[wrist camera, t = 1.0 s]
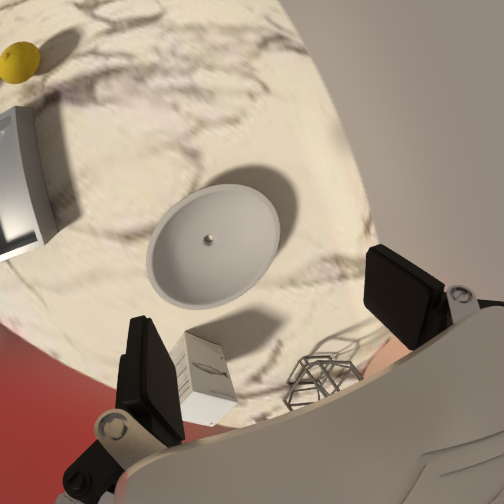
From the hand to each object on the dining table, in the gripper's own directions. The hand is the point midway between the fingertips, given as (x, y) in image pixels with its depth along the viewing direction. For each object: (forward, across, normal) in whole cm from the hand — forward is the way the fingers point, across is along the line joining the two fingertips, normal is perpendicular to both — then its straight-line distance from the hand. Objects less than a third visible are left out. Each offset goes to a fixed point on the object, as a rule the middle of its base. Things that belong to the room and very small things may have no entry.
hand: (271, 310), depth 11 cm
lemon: (+26, +20, -24) cm, 41 cm away
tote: (+26, +27, -10) cm, 39 cm away
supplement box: (+26, +8, +25) cm, 37 cm away
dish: (+26, +1, +6) cm, 27 cm away
